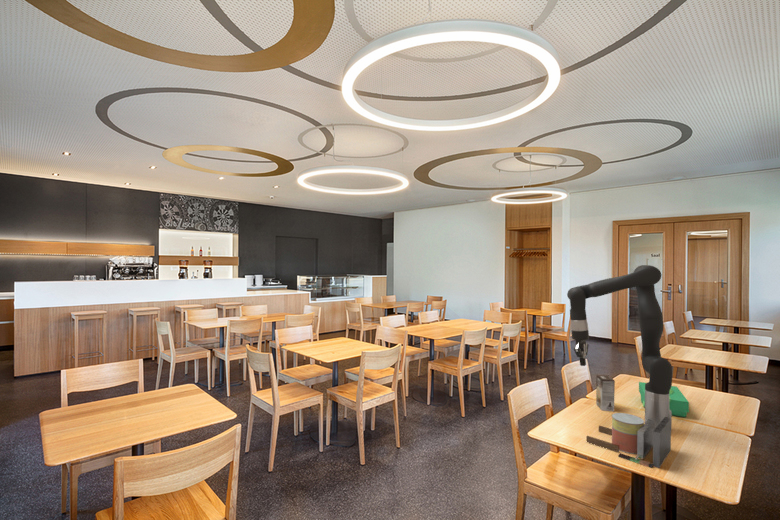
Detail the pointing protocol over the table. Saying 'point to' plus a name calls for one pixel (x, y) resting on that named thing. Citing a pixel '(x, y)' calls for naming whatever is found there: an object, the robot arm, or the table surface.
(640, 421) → the canned food
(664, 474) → the table surface
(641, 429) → the steel plate
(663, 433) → the frame
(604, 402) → the coffee box
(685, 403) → the green box
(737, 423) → the table surface
